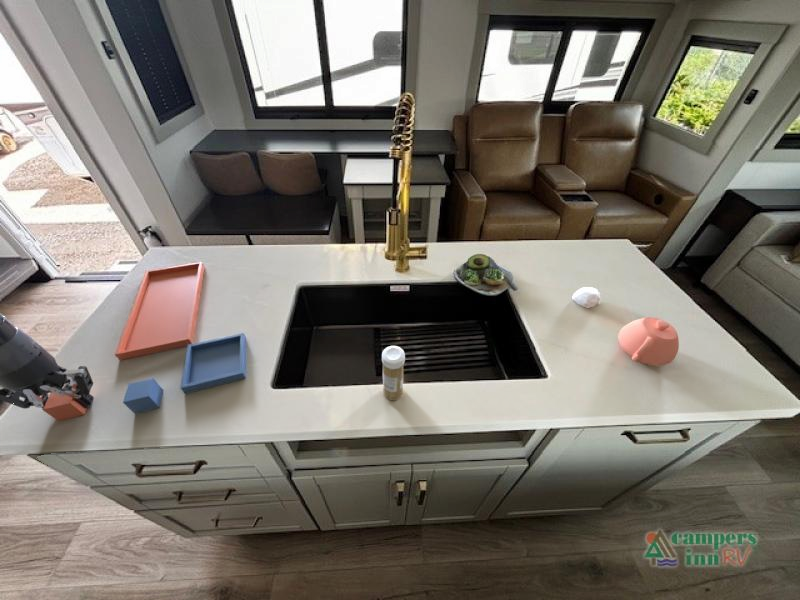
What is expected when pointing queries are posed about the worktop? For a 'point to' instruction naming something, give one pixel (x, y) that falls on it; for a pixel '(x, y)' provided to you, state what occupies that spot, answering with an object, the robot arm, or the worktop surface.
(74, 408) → the terracotta block
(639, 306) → the worktop surface
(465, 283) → the avocado toast plate
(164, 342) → the terracotta tray
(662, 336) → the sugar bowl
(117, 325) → the worktop surface
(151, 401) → the slate-blue block
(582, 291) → the garlic
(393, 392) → the sprinkles bottle
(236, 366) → the slate-blue tray
